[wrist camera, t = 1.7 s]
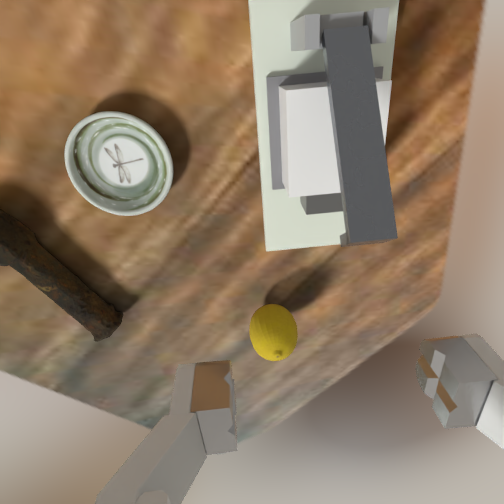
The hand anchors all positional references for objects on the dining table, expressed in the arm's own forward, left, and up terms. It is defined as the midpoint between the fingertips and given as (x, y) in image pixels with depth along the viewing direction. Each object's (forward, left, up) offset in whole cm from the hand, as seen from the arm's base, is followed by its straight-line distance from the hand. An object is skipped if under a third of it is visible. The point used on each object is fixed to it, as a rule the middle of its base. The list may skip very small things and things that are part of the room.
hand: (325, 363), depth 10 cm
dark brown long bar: (+11, -24, -28) cm, 38 cm away
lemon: (+20, 0, -27) cm, 34 cm away
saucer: (0, -13, -28) cm, 30 cm away
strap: (-2, +6, -18) cm, 19 cm away
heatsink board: (-1, +6, -27) cm, 28 cm away
